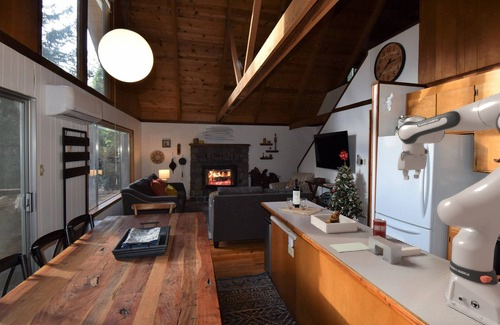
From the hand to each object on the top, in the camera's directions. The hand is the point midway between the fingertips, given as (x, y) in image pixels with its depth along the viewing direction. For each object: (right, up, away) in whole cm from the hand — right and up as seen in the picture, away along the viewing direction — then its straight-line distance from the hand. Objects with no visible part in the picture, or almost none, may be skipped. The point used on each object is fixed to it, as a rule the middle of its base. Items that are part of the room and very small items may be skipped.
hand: (411, 179), depth 121 cm
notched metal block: (-9, -41, +7) cm, 42 cm away
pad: (-22, -40, +19) cm, 49 cm away
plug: (+3, -41, +10) cm, 42 cm away
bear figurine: (-20, -39, +56) cm, 70 cm away
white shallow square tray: (-19, -38, +56) cm, 71 cm away
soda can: (+1, -40, +32) cm, 51 cm away
